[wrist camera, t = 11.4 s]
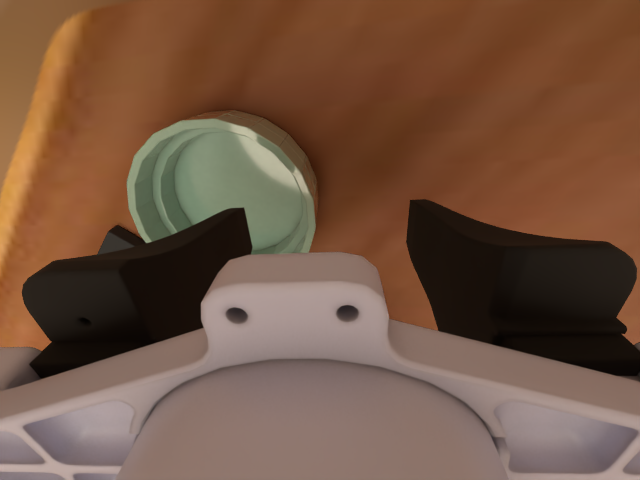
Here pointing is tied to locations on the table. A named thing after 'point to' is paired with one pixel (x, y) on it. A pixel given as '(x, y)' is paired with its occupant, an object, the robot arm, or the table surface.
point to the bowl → (225, 180)
